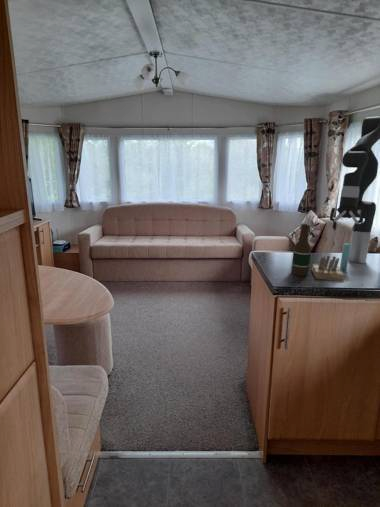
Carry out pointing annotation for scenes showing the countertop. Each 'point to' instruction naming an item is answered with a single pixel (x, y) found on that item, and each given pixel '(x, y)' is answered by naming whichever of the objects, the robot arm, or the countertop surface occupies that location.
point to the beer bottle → (301, 253)
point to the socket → (328, 269)
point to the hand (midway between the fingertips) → (344, 230)
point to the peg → (345, 257)
